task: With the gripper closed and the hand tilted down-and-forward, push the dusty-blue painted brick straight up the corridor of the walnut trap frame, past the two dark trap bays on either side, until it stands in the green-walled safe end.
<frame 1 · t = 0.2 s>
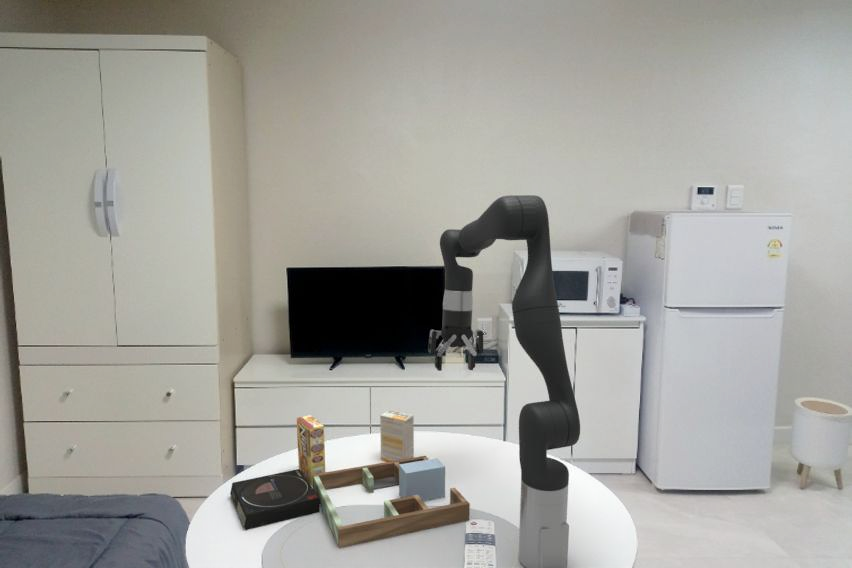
hand: (454, 369, 161), 27 cm above the table, tool pointing down, fingers open, 8 cm apart
trap frame: (388, 504, 147), on the table
brick: (421, 496, 151), on the table
portable cd player: (274, 507, 147), on the table
supplement box: (397, 460, 171), on the table
candy box: (311, 478, 160), on the table
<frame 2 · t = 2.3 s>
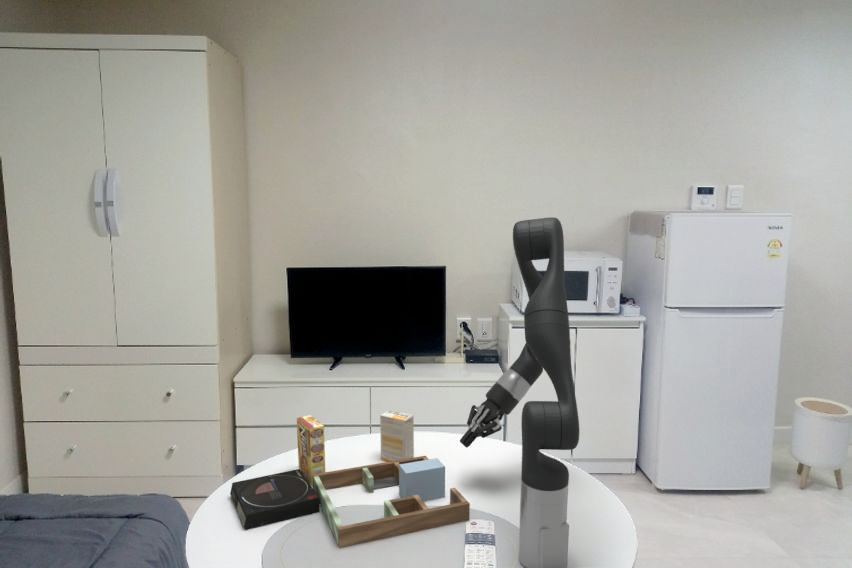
hand: (463, 444, 154), 11 cm above the table, tool tilted 45°, fingers closed
nothing on the table moved.
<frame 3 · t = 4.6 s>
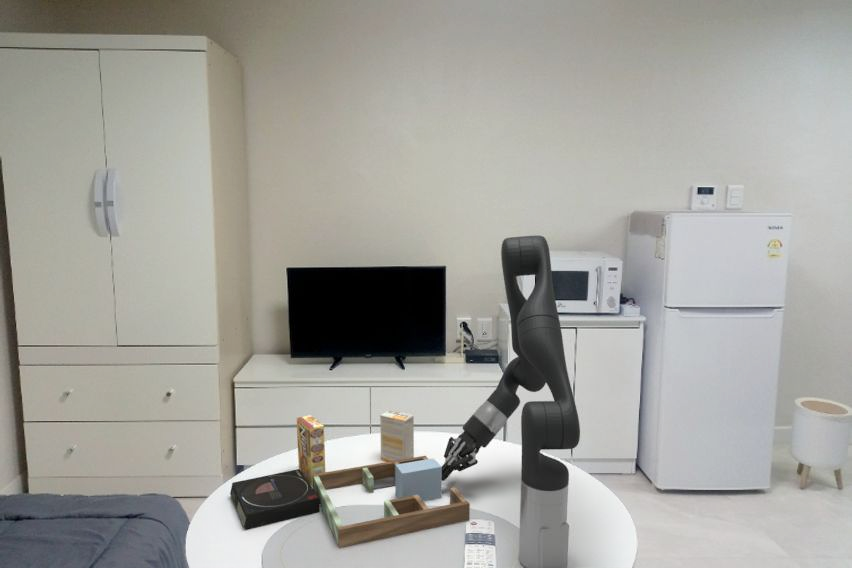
hand: (439, 478, 153), 4 cm above the table, tool tilted 45°, fingers closed
brick: (418, 496, 151), on the table, touching gripper
everything else where it was.
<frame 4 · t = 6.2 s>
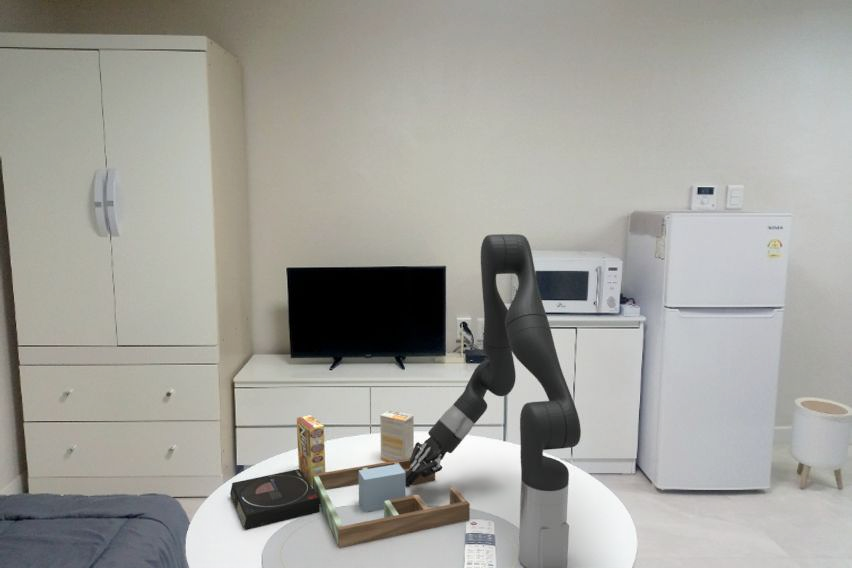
hand: (404, 484, 149), 4 cm above the table, tool tilted 45°, fingers closed
brick: (382, 503, 148), on the table, touching gripper
everything else where it was.
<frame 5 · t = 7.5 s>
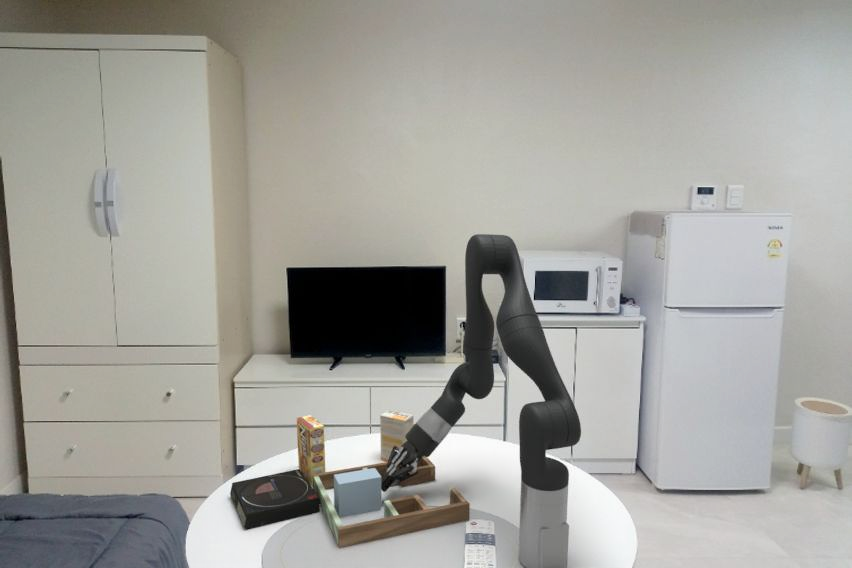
hand: (380, 488, 147), 4 cm above the table, tool tilted 45°, fingers closed
brick: (357, 507, 146), on the table, touching gripper
everything else where it was.
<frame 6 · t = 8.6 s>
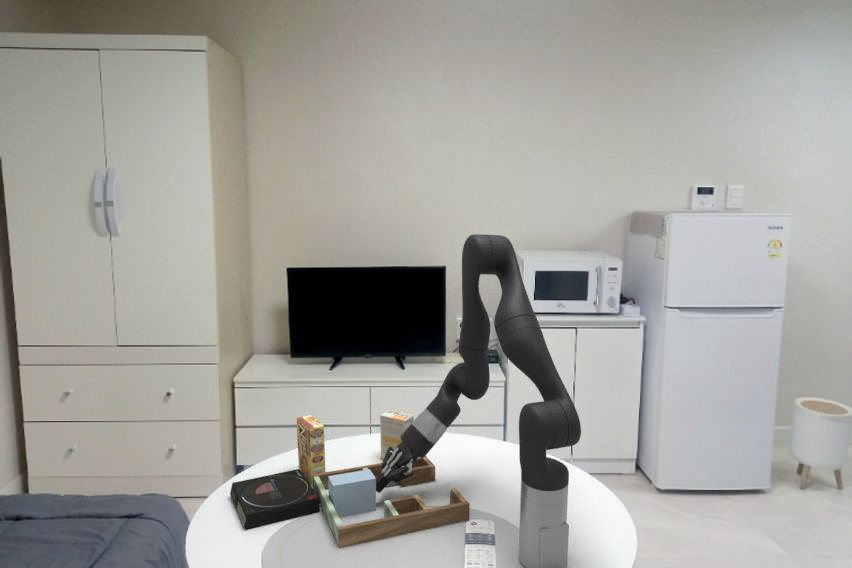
hand: (375, 489, 146), 4 cm above the table, tool tilted 45°, fingers closed
brick: (352, 509, 145), on the table, touching gripper
everything else where it was.
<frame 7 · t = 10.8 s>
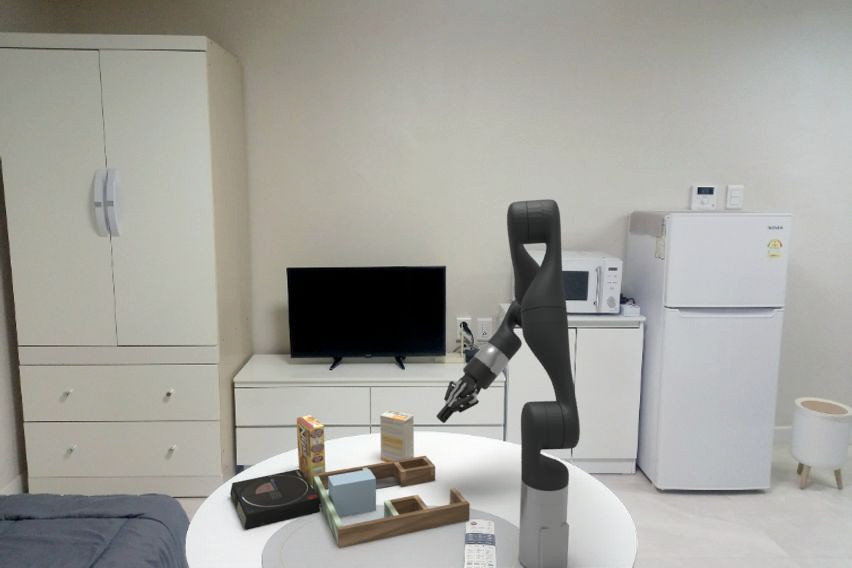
hand: (439, 420, 150), 19 cm above the table, tool tilted 45°, fingers closed
brick: (352, 509, 145), on the table
everything else where it was.
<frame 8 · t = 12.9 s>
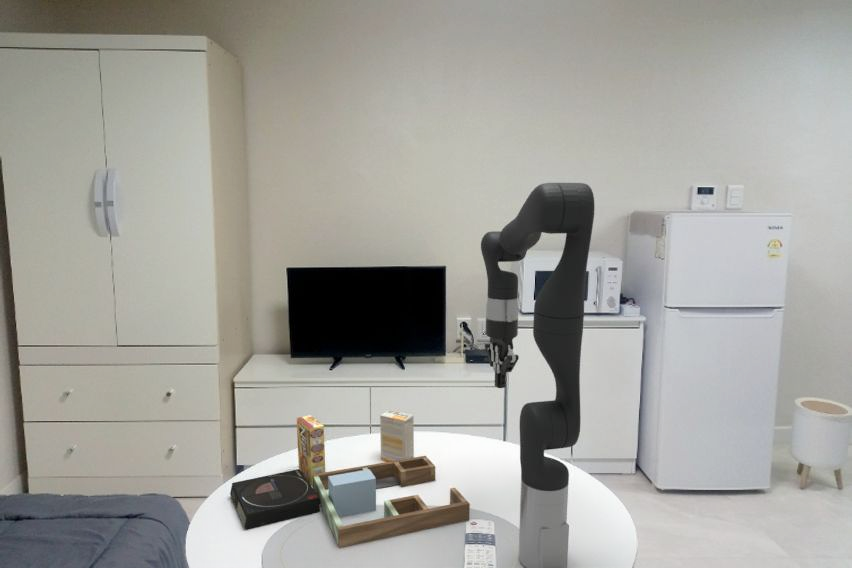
hand: (500, 387, 149), 27 cm above the table, tool pointing down, fingers closed
nothing on the table moved.
at the end: brick inside the target area (0.2 cm from its centre), on the table; brick tilted 0° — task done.
